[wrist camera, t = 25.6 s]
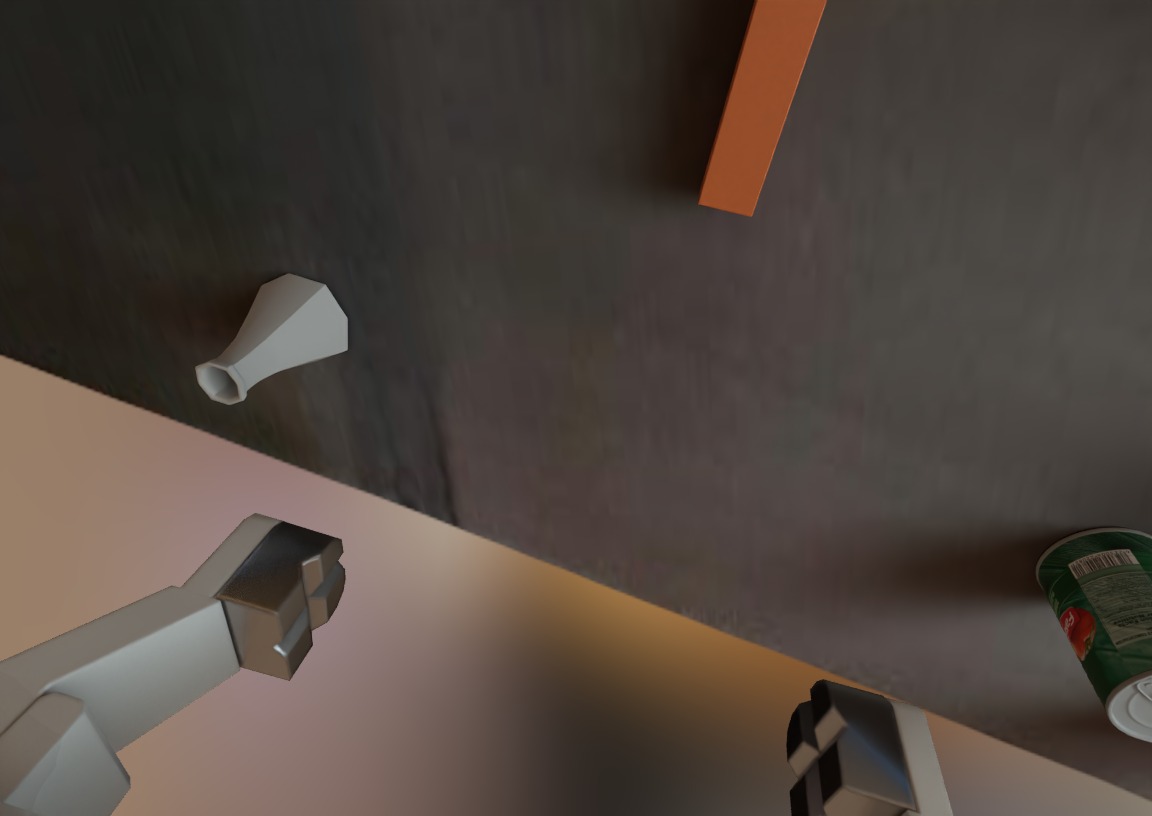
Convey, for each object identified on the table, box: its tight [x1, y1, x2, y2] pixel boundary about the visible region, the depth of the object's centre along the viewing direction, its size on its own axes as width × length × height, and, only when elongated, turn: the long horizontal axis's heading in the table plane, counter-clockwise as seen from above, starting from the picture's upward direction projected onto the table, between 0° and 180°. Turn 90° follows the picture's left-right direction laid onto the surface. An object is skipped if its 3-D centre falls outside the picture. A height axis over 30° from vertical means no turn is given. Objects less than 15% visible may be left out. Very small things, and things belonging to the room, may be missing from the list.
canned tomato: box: [1036, 527, 1152, 742], centre depth 40 cm, size 8×8×11 cm
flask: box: [195, 273, 348, 405], centre depth 43 cm, size 7×7×10 cm
